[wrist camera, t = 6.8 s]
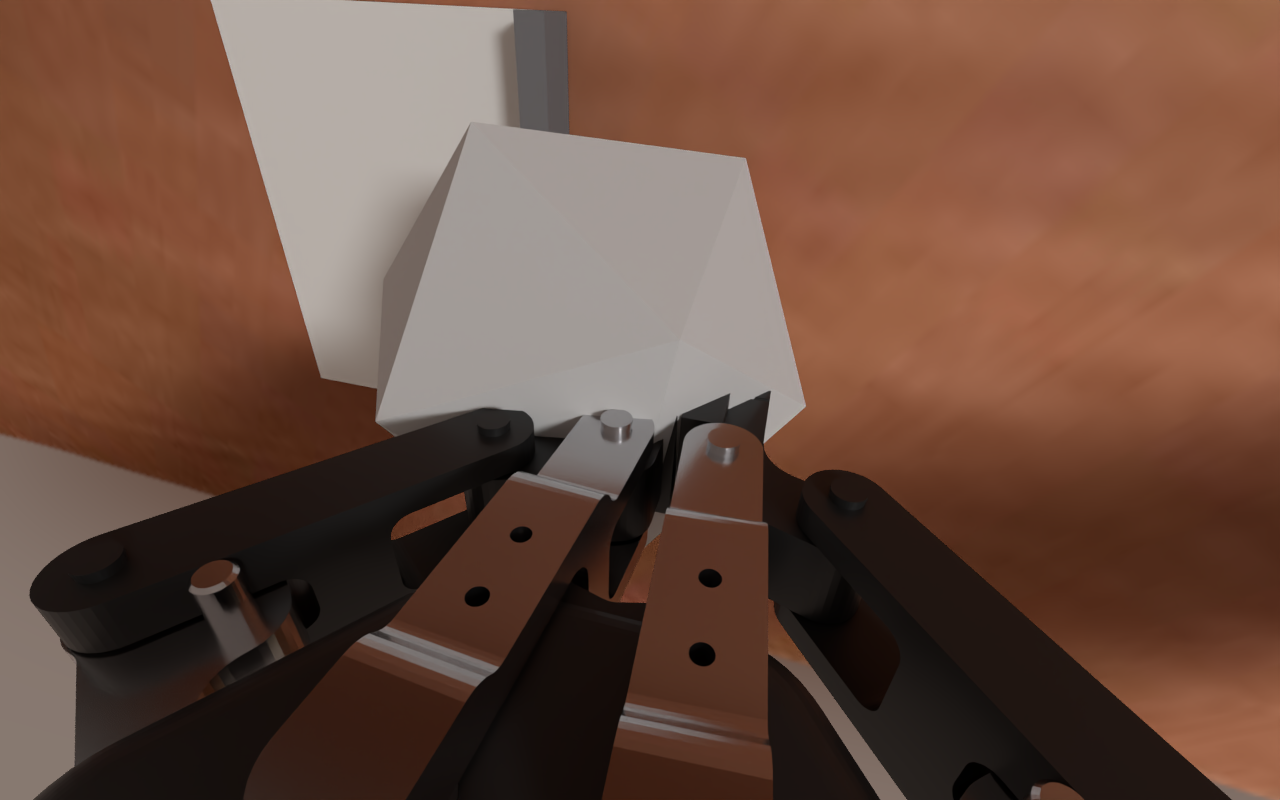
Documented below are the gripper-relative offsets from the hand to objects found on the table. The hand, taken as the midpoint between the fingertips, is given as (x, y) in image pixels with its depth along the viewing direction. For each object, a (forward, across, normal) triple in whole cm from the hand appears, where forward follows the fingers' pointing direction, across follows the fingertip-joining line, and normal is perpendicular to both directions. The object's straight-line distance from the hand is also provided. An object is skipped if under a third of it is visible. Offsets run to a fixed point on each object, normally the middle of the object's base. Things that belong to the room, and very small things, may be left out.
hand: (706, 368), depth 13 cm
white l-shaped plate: (+6, +11, 0) cm, 13 cm away
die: (+4, 0, 0) cm, 4 cm away
